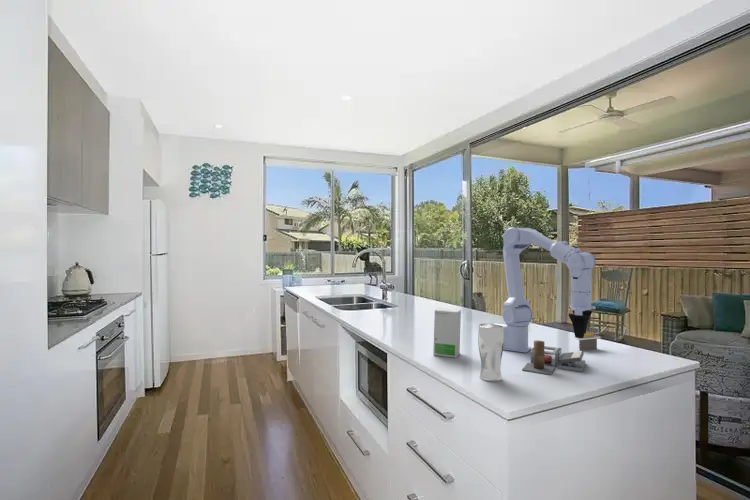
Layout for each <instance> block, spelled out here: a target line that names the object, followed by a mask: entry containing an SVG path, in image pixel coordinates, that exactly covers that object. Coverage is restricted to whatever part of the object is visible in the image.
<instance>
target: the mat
mask: <svg viewBox="0 0 750 500" xmlns="http://www.w3.org/2000/svg"><path fill="white" fill-rule="evenodd" d="M555 369H556V366H550V365H544V369H535V368H534V363H531V362H527V363H526V364H525V366H524V367H523V368H522V369H521V370H522V372H523V371H524V372H528V373H529V372H530V373H535V374H542V375H549V376H552V374H553V373H554V371H555Z"/></svg>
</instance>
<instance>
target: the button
mask: <svg viewBox="0 0 750 500" xmlns="http://www.w3.org/2000/svg"><path fill="white" fill-rule="evenodd" d="M552 359H553V355H549V354H544V362H552Z"/></svg>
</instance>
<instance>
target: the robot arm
mask: <svg viewBox="0 0 750 500" xmlns="http://www.w3.org/2000/svg"><path fill="white" fill-rule="evenodd" d="M502 239H503V247H502V256H503V263H504V264H503V265H504V271H505V273H504V274H505V282H506V289H507V300H506V301H504V302H503V305H502V306H503V311H502V313H501V314H502V320H503V321H504V323H502V324H501V325H502V326H503V334H504V346H503V351H511V352H519V353H525V354H526V353H528V352H529V351H531V350H532V346H529V325H530V323H531V322H532V320H533V317H534V312H533V310H532V307H531V305H530V302H529V300H528V299H527V298H526V297H525V293H524V286H523V285H524V284H523V278H522V277H523V276H522V269H521V261H520V255H521V253H522V252H523V251H524V250H526V249H527V248H529V246H530V245H532V244H534V245H536V246H537V247H540V248H542V249H544V250H546V251H549V254H550V256H551V258H554V259H555V260H557V261H558V262H561V263H562V264H565V265H566V267H567V268H568V270H569V275H570V304H569V308H570V309H572V313H568V317H569V319H570V321H571V324H572V328H573V333H574V336H575V337H576V338H583V337H584V334H585V333H586V332H587V329H588V323H589V319H590V317H591V315H592V314H593V310H596V307H597V306H594V305H592V270H593V269H594V268H595V266H596V263H597V261H596V258H595V256H594V255H593V254H592V253H591V252H590V251H589V252H588V251H584V252H582V251H581V249H580V248H578V247H573V246H571V245H570V244H569V242H568V241H566V240H563V241H557V242H555V241H554V240H553V239H550V238H549V237H547V236H546V235H544V234H542V233H541V232H539V231H538V230H536V229H534V228H531V227H512V226H511V227H509V228H507V229H506V230H505V232H504V233H503V234H502Z"/></svg>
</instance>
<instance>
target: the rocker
mask: <svg viewBox="0 0 750 500" xmlns="http://www.w3.org/2000/svg"><path fill="white" fill-rule="evenodd" d="M583 357H584V350H582V351H580V350H579V351H570V352H563V353H562V355H561V357H560V359H559V362H560V363H567V362H578V361H581V360H583Z"/></svg>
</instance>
